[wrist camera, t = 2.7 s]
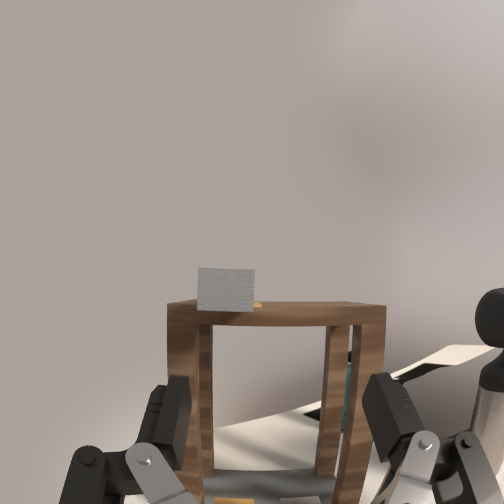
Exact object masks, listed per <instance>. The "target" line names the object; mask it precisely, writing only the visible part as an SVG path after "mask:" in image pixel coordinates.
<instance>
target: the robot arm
mask: <svg viewBox="0 0 504 504" xmlns="http://www.w3.org/2000/svg"><path fill="white" fill-rule="evenodd" d="M475 324H476V329H477V332H478V334H479V336H480V338H481V339H482V341H483V342H484V343H485V344H487V345H488V346H491V347H498V348H504V288H498V289H493V290H491V291H489V292H487V293H486V294H485V295H484V296H483V297H482V298H481V300H480V301H479V304H478V306H477V308H476V313H475ZM362 407H363V410H364V413H365V416H366V419H367V422H368V425H369V428H370V431H371V434H372V437H373V440H374V443H375V446H376V449H377V452H378V455H379V458H380V462H381V463H383V462H387V461H390V464H391V466H390V467H389V469H388V471H387V473H386V475H385V477H384V479H383V482H382V484H381V486H380V488H379V490H378V492H377V494H376V495H375V497H374V499H373V501H372V502H371V503H370V504H426V503H427V500H428V498H429V495H430V492H431V489H432V491H433V494H434V498H435V501H436V504H504V498H503V496H502V493H501V490H500V488H499V485H498V483H497V480H496V478H495V475H496V474H497V473H498V472H499V470H500V467H501V465H502V462H503V460H504V350H503V351H502V353H501V354H500V355H499V356H498V357H497V358H496V359H494V360H493V361H492V362H490V363H489V364H487V365H485V367H483V369H482V370H481V374H480V379H479V385H478V391H477V396H476V402H475V406H474V411H473V415H472V419H471V423H470V428H469V431H464V432H461V433H460V434H458V436H457V437H456V438H455V439H440V438H438V437H437V436H436V435H435V434H434V433H432V432H430V431H426V430H425V428H424V426H423V424H422V422H421V419H420V417H419V415H418V413H417V411H416V409H415V407H414V406H413V403H412V401H411V399H410V398H409V395H408V393H407V391H406V389H405V388H404V387H403V386H402V385H401V384H400V383H399V382H393V380H392V378H391V376H390V374H389V373H387V372H384V373H376V374H372V375H371V376H370V379H369V381H368V384H367V386H366V389H365V391H364V393H363V396H362ZM191 410H192V396H191V390H190V383H189V377H188V376H185V375H174V374H171V375H170V377H169V381H168V384H167V386H165V385H158V386H157V387H156V388H155V389H154V390H153V391H152V392H151V395H150V398H149V402H148V405H147V408H146V412H145V414H144V418H143V421H142V424H141V428H140V431H139V435H138V438H137V441H136V442H135V444H134V445H132V446H131V447H130V448H129V449H127V450H125V451H120V452H106V453H105V452H104V453H103V452H102V451H101V450H100V449H99V448H97V447H94V446H83V447H81V448H79V449H77V450H76V451H75V453H74V455H73V457H72V461H71V464H70V467H69V470H68V473H67V477H66V480H65V484H64V487H63V491H62V494H61V498H60V502H59V504H124V498H125V495H137V494H145V496H146V498H147V499H148V501H149V503H150V504H199V503H198V502H197V501H196V499H195V498H194V497H193V495H192V494H191V493H190V492H189V491H188V490H187V489H186V488H185V487H184V486H183V485H182V483H181V482H180V480H179V479H178V478H177V476H176V475H175V473H174V472H175V471H182V466H183V459H184V453H185V447H186V440H187V434H188V428H189V422H190V416H191ZM429 481H430V483H429Z"/></svg>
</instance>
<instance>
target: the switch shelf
mask: <svg viewBox="0 0 504 504" xmlns="http://www.w3.org/2000/svg"><path fill="white" fill-rule="evenodd" d="M213 325H230V326H326V342H325V361H324V363H325V364H324V378H323V391H322V403H321V414H320V424H319V434H318V443H317V451H316V459H315V467H314V468H312V469H299V470H278V471H241V470H220V469H214V449H213V405H212V404H213V395H212V344H213V342H212V341H213V340H212V339H213V338H212V337H213ZM350 325H353V337H352V355H351V369H350V381H349V392H348V401H347V410H346V419H345V427H344V434H343V441H342V448H341V454H340V460H339V466H338V472H337V477H336V478H335V476H334V472H335V466H336V460H337V454H338V447H339V440H340V433H341V425H342V417H343V408H344V399H345V389H346V377H347V364H348V347H349V329H350V328H349V327H350ZM385 332H386V306H384V305H373V304H363V303H353V302H260V301H259V302H258V301H254V311H253V312H233V311H206V310H197V300H188V301H181V302H175V303H168V304H167V367H168V381H169V377H170V375H171V374H174V375H185V376H188V377H189V383H190V390H191V396H192V410H191V416H190V422H189V428H188V434H187V440H186V447H185V453H184V459H183V466H182V471H175V472H174V473H175V475H176V476H177V478H178V479H179V480H180V482H181V483H182V485H183V486H184V487H185V488H186V489H187V490H188V491H189V492H190V493H191V494H192V495H193V497H194V498H195V499H196V501H197V502H198V503H199V504H359V500H360V496H361V493H362V489H363V485H364V481H365V476H366V472H367V468H368V463H369V458H370V453H371V448H372V443H373V437H372V434H371V431H370V428H369V425H368V422H367V419H366V416H365V413H364V410H363V407H362V396H363V393H364V391H365V389H366V386H367V384H368V381H369V379H370V376H371V375H372V374H376V373H382V371H383V361H384V347H385Z"/></svg>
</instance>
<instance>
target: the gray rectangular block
mask: <svg viewBox="0 0 504 504" xmlns="http://www.w3.org/2000/svg"><path fill="white" fill-rule="evenodd" d="M197 310H206V311H233V312H253V311H254V270H251V269H249V270H248V269H210V268H198V293H197Z"/></svg>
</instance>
